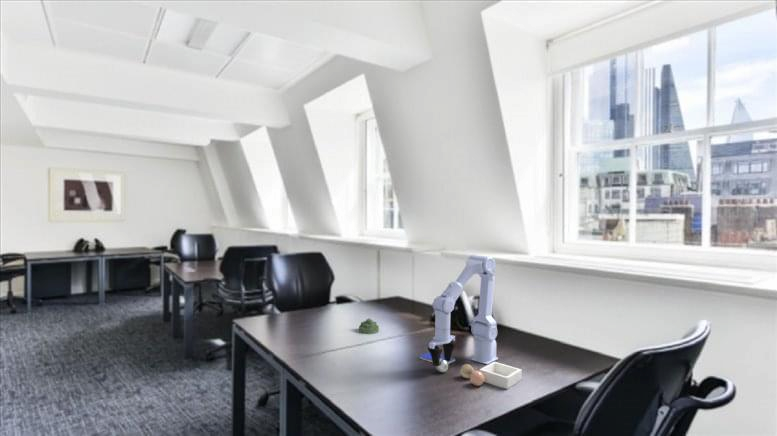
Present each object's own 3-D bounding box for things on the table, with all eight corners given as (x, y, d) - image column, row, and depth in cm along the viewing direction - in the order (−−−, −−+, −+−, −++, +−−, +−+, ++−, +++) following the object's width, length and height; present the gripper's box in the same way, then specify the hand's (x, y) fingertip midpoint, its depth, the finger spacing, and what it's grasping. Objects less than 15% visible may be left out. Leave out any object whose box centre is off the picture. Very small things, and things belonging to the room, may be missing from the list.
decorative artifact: (358, 334, 206) (378, 334, 206) (358, 320, 206) (378, 320, 206) (359, 328, 216) (378, 328, 216) (359, 315, 216) (379, 315, 216)
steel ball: (440, 368, 163) (440, 355, 163) (450, 371, 160) (451, 359, 160) (432, 371, 160) (432, 358, 159) (443, 375, 156) (443, 362, 156)
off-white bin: (494, 371, 161) (494, 361, 161) (521, 380, 153) (521, 369, 153) (479, 380, 152) (479, 369, 152) (507, 389, 145) (507, 378, 145)
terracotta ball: (474, 381, 152) (474, 367, 152) (486, 385, 148) (486, 371, 148) (467, 385, 148) (467, 371, 148) (479, 389, 145) (479, 375, 145)
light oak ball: (464, 374, 158) (465, 361, 158) (476, 377, 155) (476, 364, 154) (457, 377, 154) (457, 364, 154) (469, 381, 151) (469, 368, 151)
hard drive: (455, 358, 172) (431, 351, 180) (443, 363, 166) (419, 355, 174) (455, 362, 172) (431, 354, 180) (443, 367, 166) (419, 359, 174)
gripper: (444, 322, 167) (444, 355, 168) (422, 329, 157) (421, 365, 157) (459, 325, 163) (458, 360, 163) (438, 333, 152) (437, 370, 152)
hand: (441, 362), depth 160 cm, fingers open, 7 cm apart
